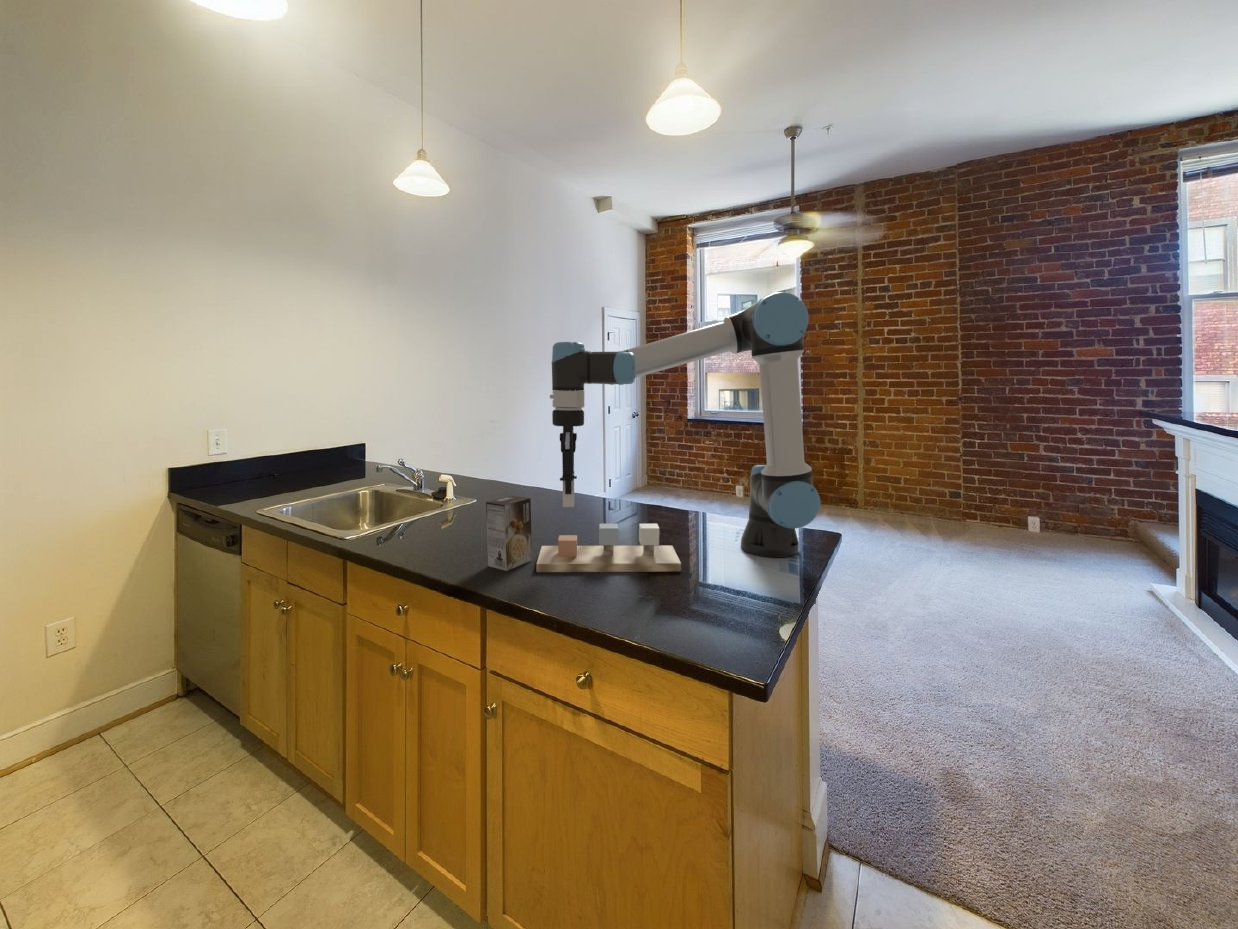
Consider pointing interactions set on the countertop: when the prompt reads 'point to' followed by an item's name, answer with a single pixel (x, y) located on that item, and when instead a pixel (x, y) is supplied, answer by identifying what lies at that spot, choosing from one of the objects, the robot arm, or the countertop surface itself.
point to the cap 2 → (649, 534)
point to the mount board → (610, 559)
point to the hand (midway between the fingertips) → (568, 506)
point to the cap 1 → (567, 546)
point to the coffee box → (509, 532)
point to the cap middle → (608, 534)
